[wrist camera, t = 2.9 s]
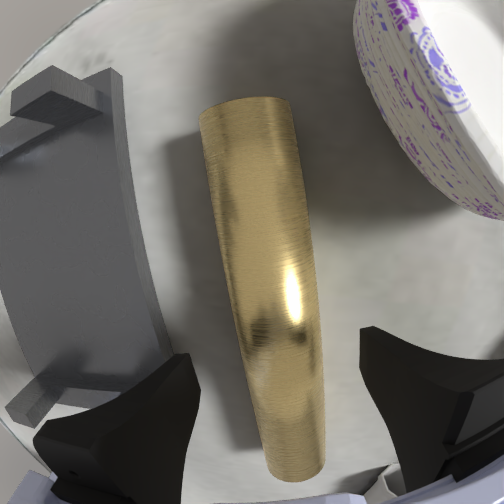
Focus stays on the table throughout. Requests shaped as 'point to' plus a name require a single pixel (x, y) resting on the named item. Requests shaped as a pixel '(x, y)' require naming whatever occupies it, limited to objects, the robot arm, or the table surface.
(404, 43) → the paper bowls
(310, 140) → the table surface
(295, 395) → the brass pin
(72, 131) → the corner post stand
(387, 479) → the tube
